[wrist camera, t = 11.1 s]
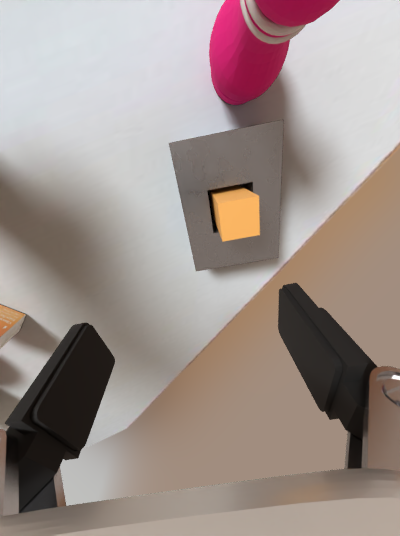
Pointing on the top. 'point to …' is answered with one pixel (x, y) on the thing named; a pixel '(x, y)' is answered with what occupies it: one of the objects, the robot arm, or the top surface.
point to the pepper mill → (256, 43)
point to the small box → (9, 323)
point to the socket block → (228, 174)
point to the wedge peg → (235, 212)
